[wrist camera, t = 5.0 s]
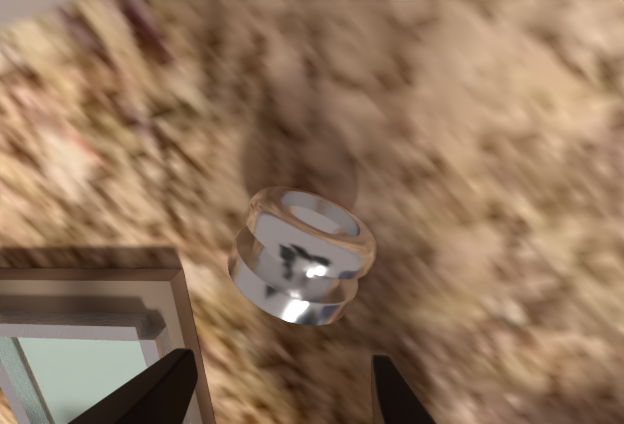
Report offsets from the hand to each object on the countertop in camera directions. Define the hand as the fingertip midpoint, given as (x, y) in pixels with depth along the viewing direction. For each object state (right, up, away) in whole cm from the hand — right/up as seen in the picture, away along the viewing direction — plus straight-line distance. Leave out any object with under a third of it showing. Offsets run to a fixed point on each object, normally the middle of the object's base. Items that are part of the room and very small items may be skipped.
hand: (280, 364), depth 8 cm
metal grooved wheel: (+1, +3, +6) cm, 7 cm away
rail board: (-11, -9, +11) cm, 18 cm away
